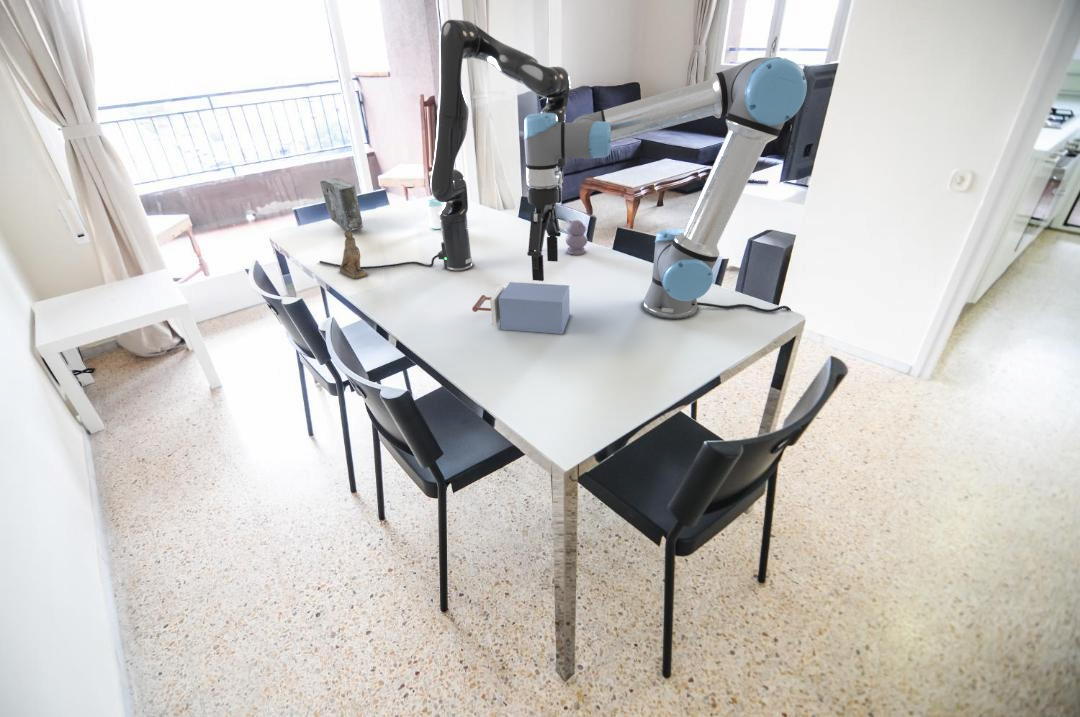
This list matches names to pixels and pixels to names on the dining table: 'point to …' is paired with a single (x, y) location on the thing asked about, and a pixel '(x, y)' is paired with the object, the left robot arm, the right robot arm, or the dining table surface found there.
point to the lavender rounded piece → (576, 237)
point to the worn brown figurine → (351, 258)
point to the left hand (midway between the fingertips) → (554, 206)
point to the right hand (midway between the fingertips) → (545, 270)
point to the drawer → (494, 305)
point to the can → (434, 213)
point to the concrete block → (342, 203)
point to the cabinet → (534, 307)
